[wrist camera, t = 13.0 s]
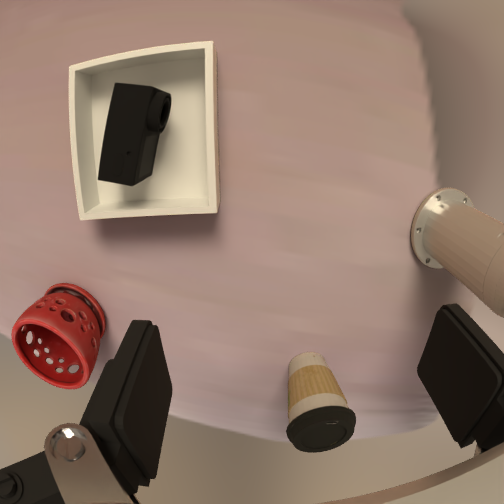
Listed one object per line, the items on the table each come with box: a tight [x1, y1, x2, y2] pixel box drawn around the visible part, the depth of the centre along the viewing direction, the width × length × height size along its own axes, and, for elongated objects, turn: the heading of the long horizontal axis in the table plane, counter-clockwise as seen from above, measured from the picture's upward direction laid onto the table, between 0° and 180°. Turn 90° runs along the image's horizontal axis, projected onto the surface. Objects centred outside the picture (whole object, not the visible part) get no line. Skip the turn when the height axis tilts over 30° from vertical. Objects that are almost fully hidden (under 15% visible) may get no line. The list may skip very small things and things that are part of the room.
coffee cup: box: [286, 352, 356, 452], centre depth 42 cm, size 10×10×15 cm
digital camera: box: [98, 83, 172, 186], centre depth 30 cm, size 10×5×7 cm, turn 166°
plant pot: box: [12, 283, 106, 389], centre depth 38 cm, size 13×13×12 cm
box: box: [69, 41, 220, 220], centre depth 32 cm, size 17×19×6 cm
